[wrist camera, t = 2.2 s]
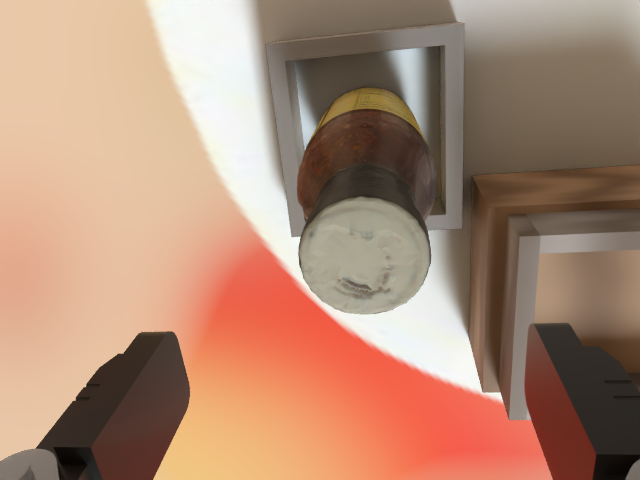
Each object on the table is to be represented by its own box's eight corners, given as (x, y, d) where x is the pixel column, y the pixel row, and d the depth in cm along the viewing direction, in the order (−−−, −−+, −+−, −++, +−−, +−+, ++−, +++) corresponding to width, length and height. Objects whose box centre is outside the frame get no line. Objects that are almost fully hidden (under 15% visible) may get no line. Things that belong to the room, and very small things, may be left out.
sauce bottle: (367, 195, 35) (348, 391, 17) (301, 131, 34) (208, 270, 16) (440, 129, 33) (508, 276, 15) (373, 57, 32) (358, 122, 14)
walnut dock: (686, 162, 32) (789, 214, 24) (653, 335, 37) (728, 427, 29) (472, 175, 34) (499, 228, 26) (469, 338, 39) (491, 426, 31)
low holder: (457, 21, 30) (464, 23, 27) (456, 211, 35) (462, 228, 32) (275, 41, 32) (265, 44, 29) (298, 219, 37) (291, 236, 34)
